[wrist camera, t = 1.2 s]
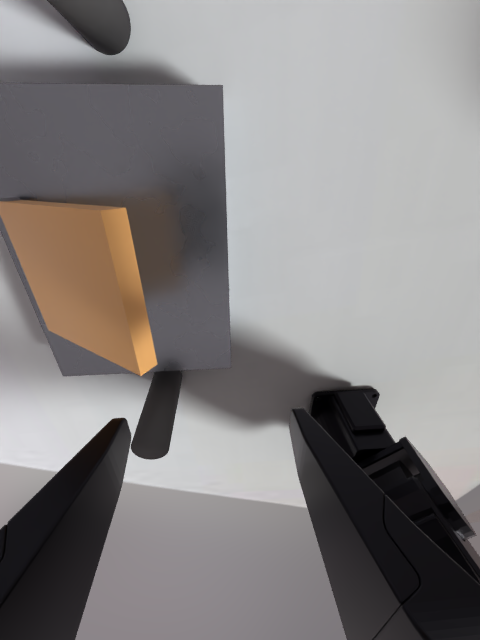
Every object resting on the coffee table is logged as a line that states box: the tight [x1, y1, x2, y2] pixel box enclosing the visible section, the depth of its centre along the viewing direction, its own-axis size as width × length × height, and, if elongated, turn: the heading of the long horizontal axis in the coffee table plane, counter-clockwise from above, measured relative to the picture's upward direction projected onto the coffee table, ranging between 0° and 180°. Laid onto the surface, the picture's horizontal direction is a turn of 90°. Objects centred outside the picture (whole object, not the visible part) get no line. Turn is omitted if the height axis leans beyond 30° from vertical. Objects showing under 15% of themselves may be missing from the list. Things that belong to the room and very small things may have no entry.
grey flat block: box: [0, 83, 231, 376], centre depth 17 cm, size 16×12×3 cm
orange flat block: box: [0, 197, 157, 376], centre depth 13 cm, size 7×8×1 cm
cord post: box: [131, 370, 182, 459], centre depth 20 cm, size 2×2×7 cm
